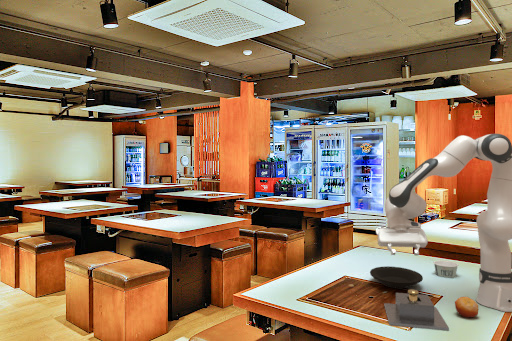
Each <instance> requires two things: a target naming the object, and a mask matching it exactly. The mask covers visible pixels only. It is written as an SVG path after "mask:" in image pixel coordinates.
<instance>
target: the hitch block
mask: <svg viewBox="0 0 512 341" xmlns="http://www.w3.org/2000/svg"><path fill="white" fill-rule="evenodd" d="M383 304H384V305H383V306H384V309H385V313H386V316H387V321H388V324H389V326H396V327H406V328H418V329H419V328H420V329H427V330H437V331H439V330H440V331H448V332H449V331H450V327H449V325H448V324H447V323H446V320H445V319H444V317H443V316H442V314H441V313H440V311H439V309H438V308H437V307H436V306H435V305H434V303H433V301H432V300H431V298H430V296H429V295H428V294H419V293H418V295H417V301H409V294H408V292H407V293H404V292H395V303H383Z"/></svg>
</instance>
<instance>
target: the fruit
mask: <svg viewBox="0 0 512 341" xmlns="http://www.w3.org/2000/svg"><path fill="white" fill-rule="evenodd" d="M454 306H455V310H456V313H458V315H460V316H461V317H462V318H474V317H475V318H476V316H478V315H479V303H478V302H477V301H476V300H474V299H472V298H470V297H468V296H461V297H458V298H457V299H456V300H454Z"/></svg>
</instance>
